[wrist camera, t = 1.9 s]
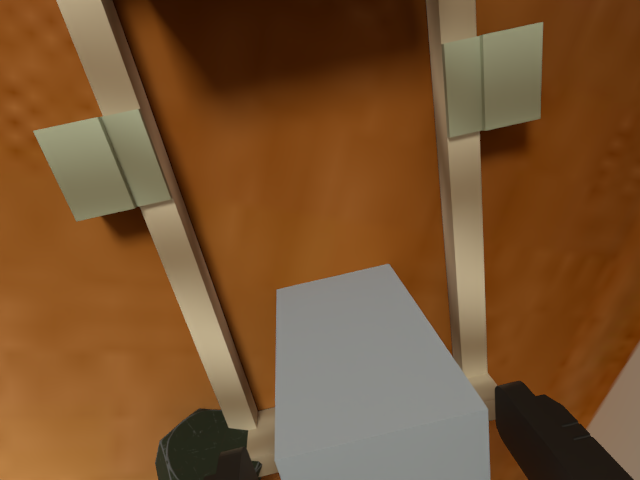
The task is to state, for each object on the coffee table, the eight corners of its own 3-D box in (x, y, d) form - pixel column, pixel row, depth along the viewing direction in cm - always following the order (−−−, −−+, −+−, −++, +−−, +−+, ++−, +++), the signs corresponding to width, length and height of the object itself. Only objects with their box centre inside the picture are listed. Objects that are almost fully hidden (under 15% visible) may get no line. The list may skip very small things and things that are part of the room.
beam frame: (-50, -112, 10) (-244, -238, 6) (517, -222, 10) (649, -401, 7) (201, 443, 18) (181, 531, 14) (514, 368, 19) (574, 434, 15)
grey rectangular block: (276, 289, 16) (274, 461, 8) (388, 263, 16) (488, 408, 8) (301, 378, 17) (318, 584, 10) (401, 354, 18) (492, 540, 10)
